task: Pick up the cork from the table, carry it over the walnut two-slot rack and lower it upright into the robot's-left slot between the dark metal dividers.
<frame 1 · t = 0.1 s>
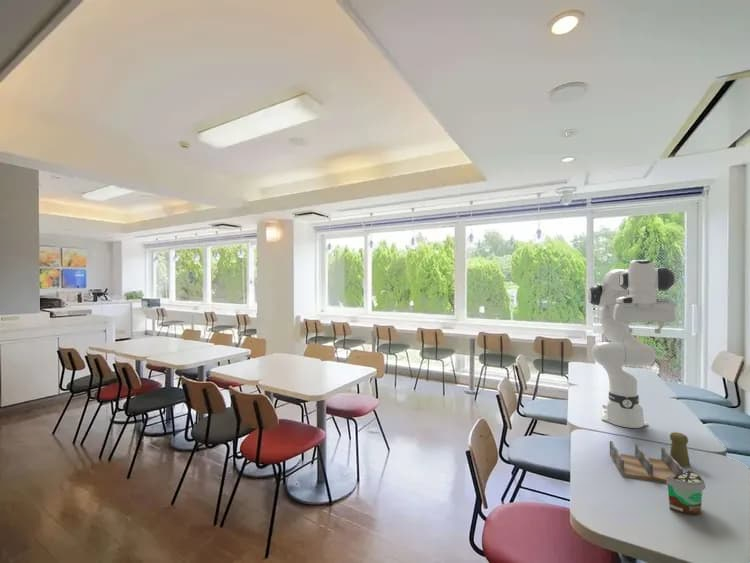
hand: (643, 332, 140), 48 cm above the table, tool pointing down, fingers open, 8 cm apart
food container: (691, 511, 103), on the table
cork: (679, 463, 130), on the table
slot rack: (643, 469, 126), on the table
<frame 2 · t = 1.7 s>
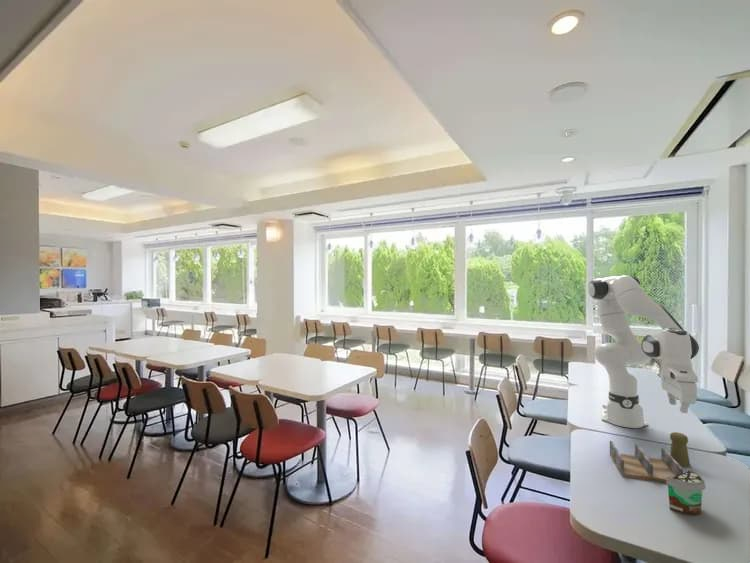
hand: (678, 408, 130), 21 cm above the table, tool pointing down, fingers open, 8 cm apart
nothing on the table moved.
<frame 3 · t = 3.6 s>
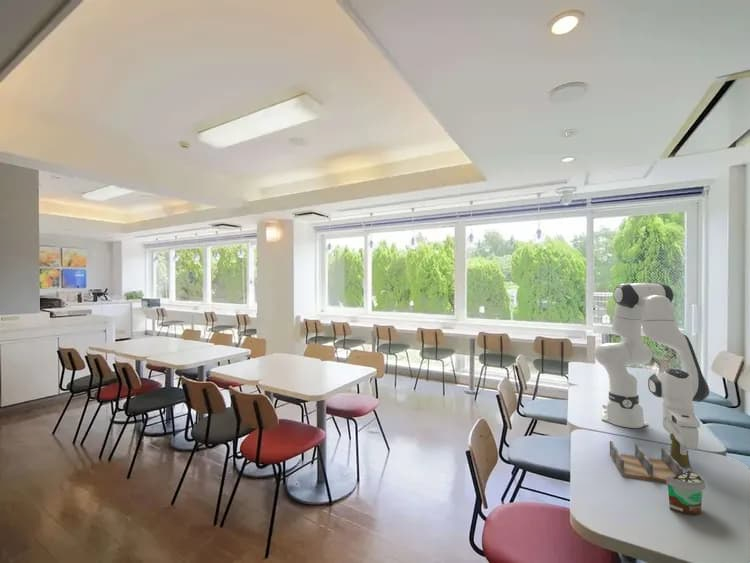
hand: (679, 450, 130), 5 cm above the table, tool pointing down, fingers closed on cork, 4 cm apart
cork: (679, 463, 130), on the table, touching gripper
everything else where it was.
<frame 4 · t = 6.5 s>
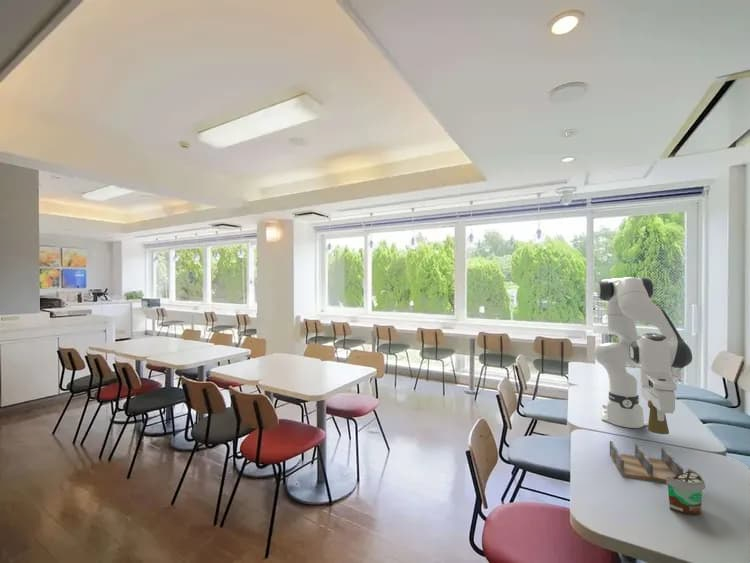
hand: (657, 417, 125), 19 cm above the table, tool pointing down, fingers closed on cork, 4 cm apart
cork: (658, 431, 124), point 15 cm above the table, touching gripper
everything else where it was.
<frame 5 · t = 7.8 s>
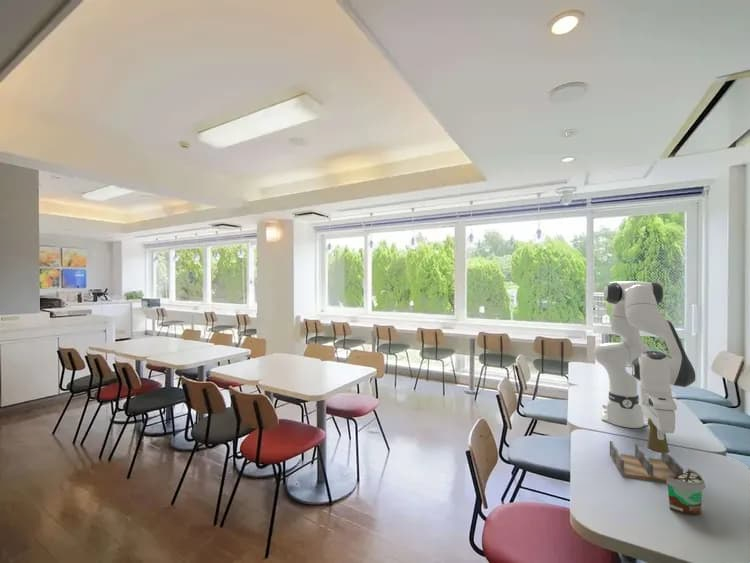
hand: (657, 435, 125), 13 cm above the table, tool pointing down, fingers closed on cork, 4 cm apart
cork: (658, 450, 124), point 8 cm above the table, touching gripper
everything else where it was.
when the fingers open (7 cm above the table, at t = 9.2 s): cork drops 1 cm, resting on slot rack.
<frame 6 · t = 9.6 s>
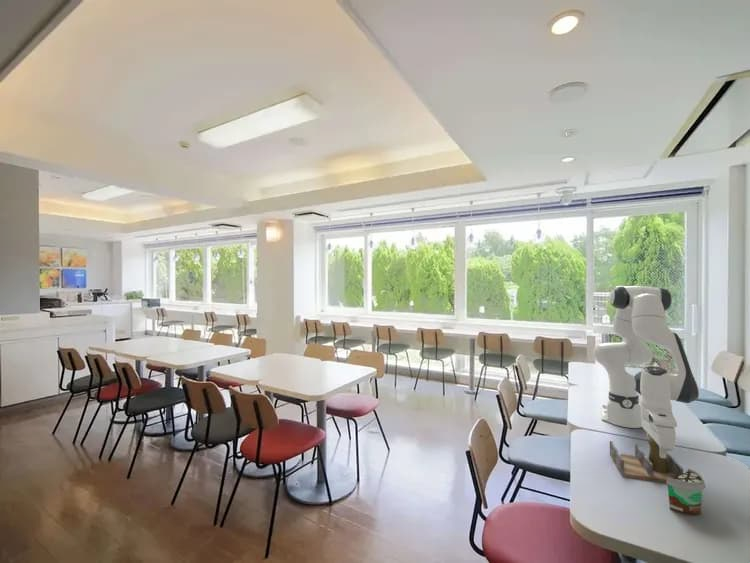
hand: (657, 451, 125), 7 cm above the table, tool pointing down, fingers open, 8 cm apart
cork: (658, 469, 124), point 1 cm above the table, touching slot rack
everything else where it was.
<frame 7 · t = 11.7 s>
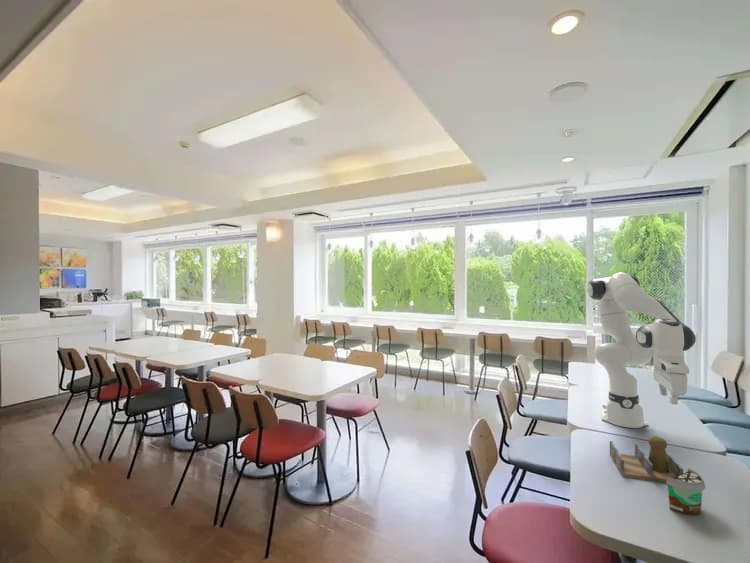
hand: (668, 399, 129), 24 cm above the table, tool pointing down, fingers open, 8 cm apart
nothing on the table moved.
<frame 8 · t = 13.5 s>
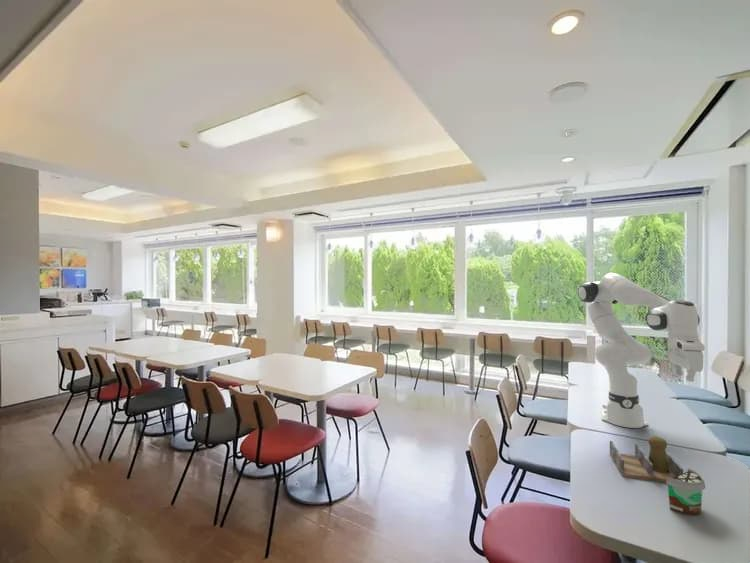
hand: (684, 377, 134), 31 cm above the table, tool pointing down, fingers open, 8 cm apart
nothing on the table moved.
at the end: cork inside the target area on the slot rack (0.2 cm from its centre), point 1.0 cm above the slot rack's base; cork tilted 0°; the gripper is holding nothing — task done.
